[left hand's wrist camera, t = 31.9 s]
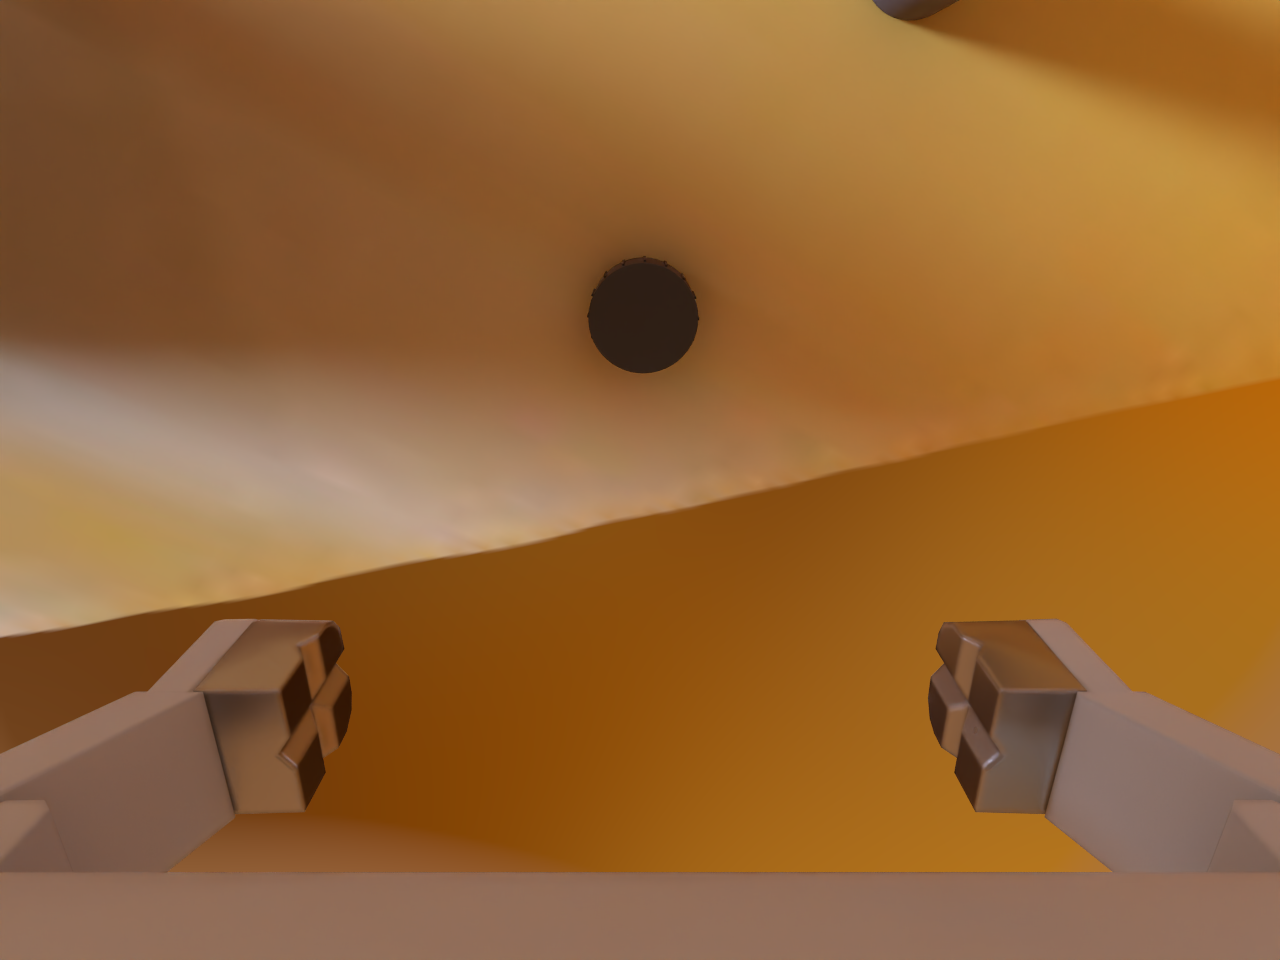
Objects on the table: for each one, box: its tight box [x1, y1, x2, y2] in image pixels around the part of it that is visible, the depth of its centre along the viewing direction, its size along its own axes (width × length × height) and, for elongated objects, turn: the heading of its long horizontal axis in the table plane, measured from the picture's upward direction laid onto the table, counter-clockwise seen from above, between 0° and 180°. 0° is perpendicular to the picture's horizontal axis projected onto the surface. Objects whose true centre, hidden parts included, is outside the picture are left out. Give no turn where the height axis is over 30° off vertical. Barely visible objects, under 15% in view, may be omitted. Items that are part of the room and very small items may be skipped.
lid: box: [587, 256, 699, 373], centre depth 36 cm, size 5×5×2 cm
